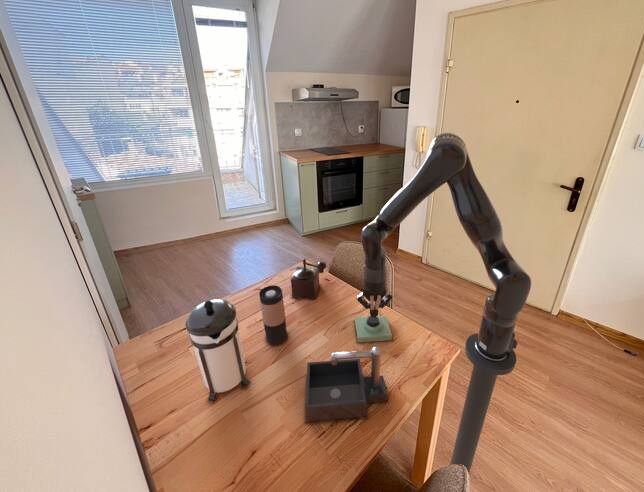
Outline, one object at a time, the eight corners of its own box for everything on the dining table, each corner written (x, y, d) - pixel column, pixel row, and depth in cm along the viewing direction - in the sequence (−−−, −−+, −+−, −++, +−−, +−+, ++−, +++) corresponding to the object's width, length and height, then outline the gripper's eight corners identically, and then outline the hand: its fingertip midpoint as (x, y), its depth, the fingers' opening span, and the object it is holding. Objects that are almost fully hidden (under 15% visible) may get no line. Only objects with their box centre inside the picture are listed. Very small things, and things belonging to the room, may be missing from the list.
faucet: (378, 380, 86) (380, 344, 80) (380, 388, 83) (382, 351, 78) (331, 383, 85) (330, 347, 79) (331, 391, 83) (330, 354, 77)
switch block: (385, 320, 113) (386, 311, 111) (391, 340, 104) (392, 331, 102) (355, 322, 112) (355, 313, 110) (358, 342, 103) (358, 333, 101)
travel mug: (264, 332, 108) (257, 288, 100) (285, 327, 110) (280, 283, 102) (267, 348, 101) (260, 301, 93) (289, 341, 104) (284, 296, 95)
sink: (380, 370, 92) (380, 356, 90) (389, 415, 80) (391, 400, 77) (308, 376, 91) (307, 362, 88) (306, 422, 78) (305, 407, 76)
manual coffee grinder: (291, 298, 125) (287, 262, 118) (298, 283, 135) (295, 249, 128) (326, 301, 123) (325, 265, 116) (331, 285, 133) (329, 251, 126)
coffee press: (263, 364, 95) (250, 288, 83) (230, 410, 81) (209, 327, 69) (220, 350, 101) (202, 277, 88) (182, 390, 87) (155, 311, 75)
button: (377, 318, 108) (377, 315, 108) (379, 326, 105) (379, 323, 104) (366, 319, 108) (366, 315, 107) (368, 327, 105) (368, 323, 104)
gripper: (356, 283, 95) (356, 324, 102) (396, 281, 95) (394, 322, 102) (354, 270, 101) (354, 310, 108) (391, 268, 102) (389, 307, 109)
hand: (373, 316), depth 105 cm, fingers closed
